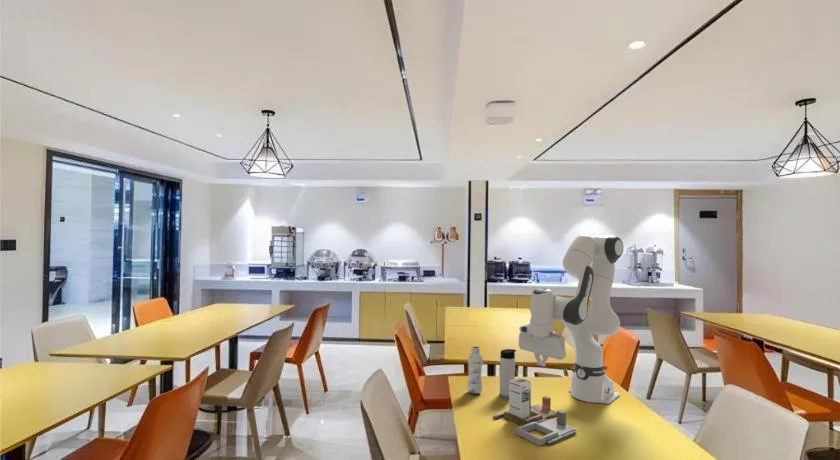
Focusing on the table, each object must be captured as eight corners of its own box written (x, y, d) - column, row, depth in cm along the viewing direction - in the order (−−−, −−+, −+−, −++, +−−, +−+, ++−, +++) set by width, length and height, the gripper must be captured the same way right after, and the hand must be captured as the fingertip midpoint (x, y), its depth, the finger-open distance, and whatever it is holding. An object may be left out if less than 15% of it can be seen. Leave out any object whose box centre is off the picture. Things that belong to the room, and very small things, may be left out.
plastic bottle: (466, 390, 184) (468, 345, 185) (482, 391, 184) (483, 346, 184) (466, 395, 178) (467, 348, 179) (482, 396, 177) (483, 349, 178)
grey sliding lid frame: (551, 420, 153) (551, 406, 154) (575, 431, 145) (575, 415, 145) (515, 433, 142) (516, 418, 142) (539, 445, 134) (540, 429, 134)
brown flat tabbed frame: (537, 406, 167) (537, 393, 168) (558, 414, 159) (558, 400, 159) (504, 416, 156) (504, 402, 156) (525, 426, 148) (525, 411, 148)
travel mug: (515, 399, 175) (516, 351, 176) (499, 397, 176) (500, 350, 177) (514, 394, 181) (515, 348, 182) (499, 392, 182) (500, 347, 183)
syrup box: (520, 424, 150) (521, 383, 151) (508, 418, 155) (509, 379, 156) (530, 420, 154) (531, 381, 154) (518, 415, 158) (519, 377, 159)
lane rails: (519, 410, 163) (519, 407, 163) (575, 434, 143) (575, 431, 143) (492, 418, 154) (492, 416, 154) (549, 445, 134) (549, 442, 134)
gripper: (569, 334, 155) (569, 371, 155) (526, 324, 172) (525, 358, 171) (559, 336, 151) (559, 374, 151) (516, 326, 168) (515, 360, 168)
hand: (541, 365), depth 161 cm, fingers closed
